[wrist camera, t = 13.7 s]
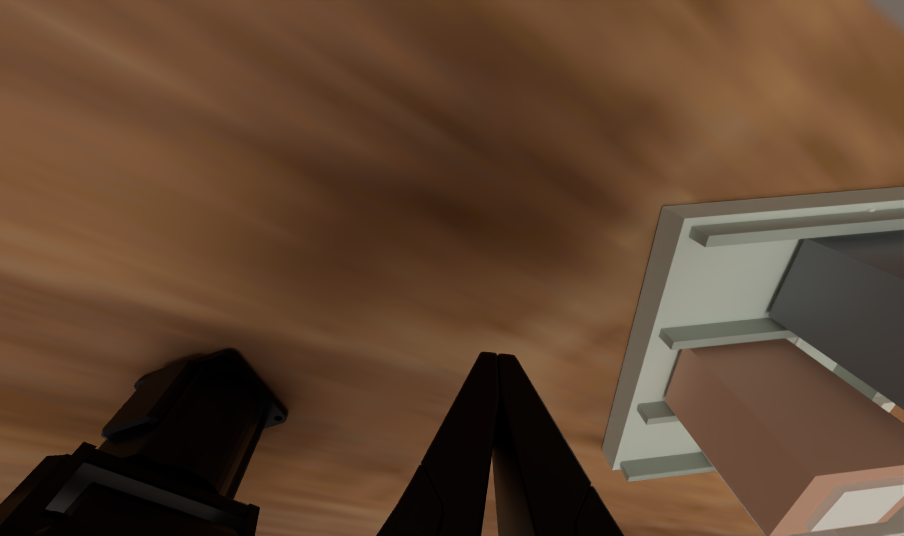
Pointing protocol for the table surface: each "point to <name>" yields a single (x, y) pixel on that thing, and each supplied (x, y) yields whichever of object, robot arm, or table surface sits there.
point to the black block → (851, 305)
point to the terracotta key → (790, 436)
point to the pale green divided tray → (721, 307)
